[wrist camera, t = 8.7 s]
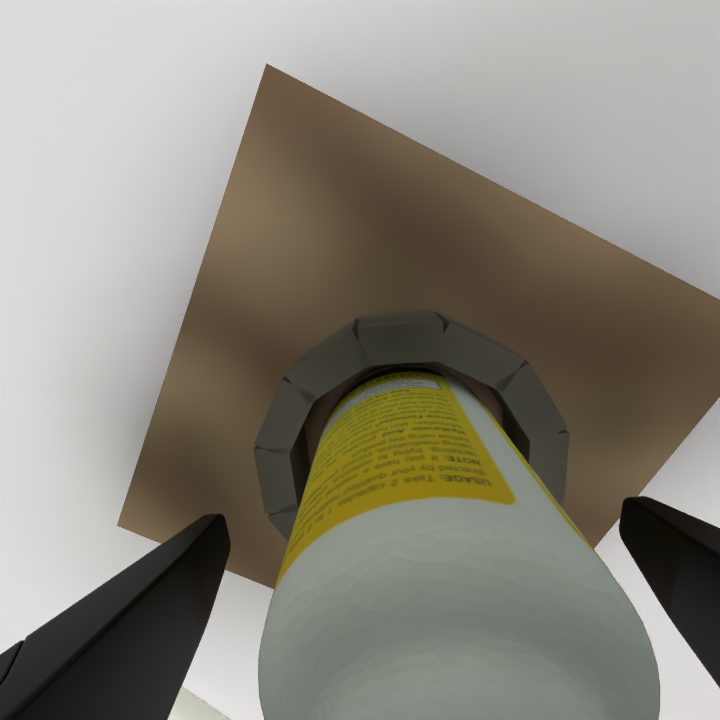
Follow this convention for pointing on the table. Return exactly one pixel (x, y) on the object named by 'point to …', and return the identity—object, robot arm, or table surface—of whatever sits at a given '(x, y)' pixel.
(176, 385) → the collar board
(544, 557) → the supplement bottle
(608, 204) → the table surface
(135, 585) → the robot arm
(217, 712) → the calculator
